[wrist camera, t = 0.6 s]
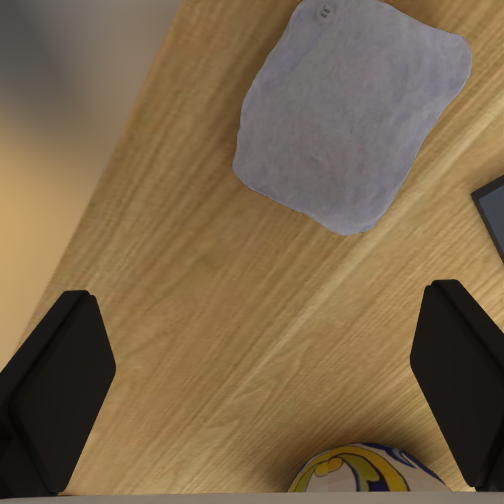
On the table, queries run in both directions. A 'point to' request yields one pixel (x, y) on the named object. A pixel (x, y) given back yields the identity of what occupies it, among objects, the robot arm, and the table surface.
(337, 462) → the table lamp
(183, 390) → the table surface
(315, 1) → the stone block
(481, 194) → the felt pad
